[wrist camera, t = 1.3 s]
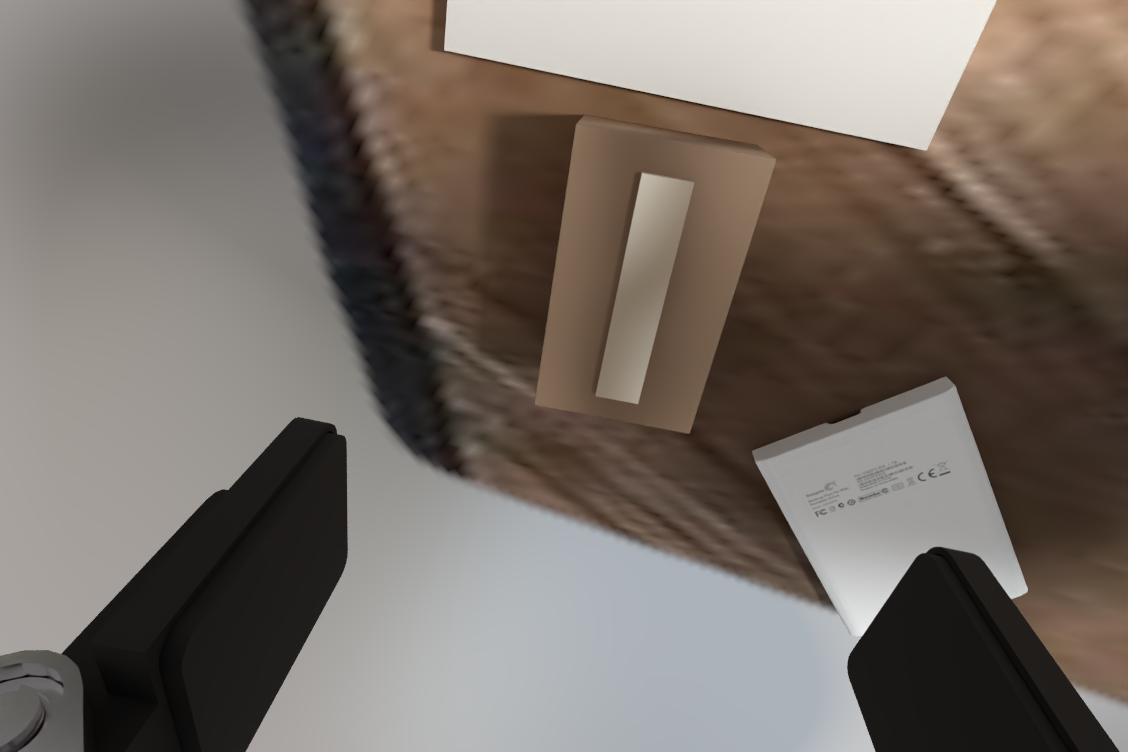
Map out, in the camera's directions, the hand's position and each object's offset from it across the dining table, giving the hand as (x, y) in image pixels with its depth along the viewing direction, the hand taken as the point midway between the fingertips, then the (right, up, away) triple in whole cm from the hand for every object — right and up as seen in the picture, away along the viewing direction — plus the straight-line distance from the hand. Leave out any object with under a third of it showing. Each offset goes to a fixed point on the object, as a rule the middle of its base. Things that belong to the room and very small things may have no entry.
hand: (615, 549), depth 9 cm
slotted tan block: (+2, +7, +13) cm, 15 cm away
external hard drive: (+14, -3, +18) cm, 23 cm away
